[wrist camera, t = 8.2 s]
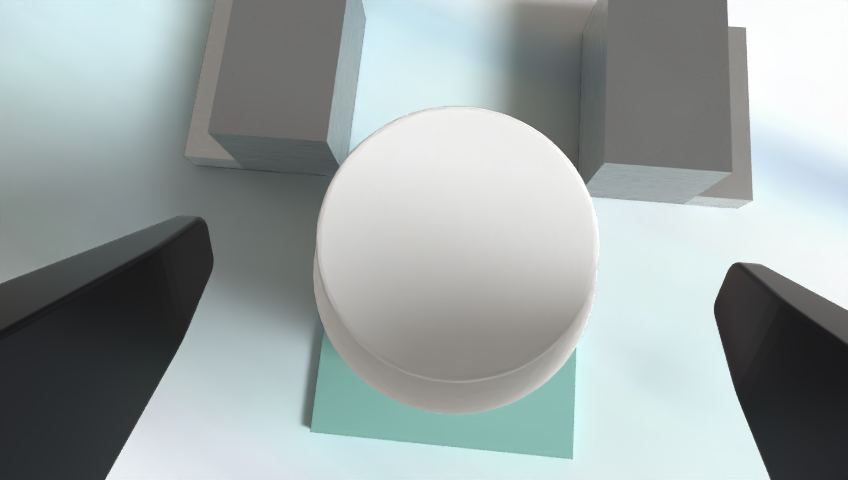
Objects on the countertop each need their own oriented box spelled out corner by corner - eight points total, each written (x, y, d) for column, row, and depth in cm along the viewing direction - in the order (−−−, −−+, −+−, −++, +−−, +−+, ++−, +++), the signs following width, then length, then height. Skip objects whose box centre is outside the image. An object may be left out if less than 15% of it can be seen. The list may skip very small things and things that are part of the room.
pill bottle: (569, 289, 19) (729, 202, 9) (467, 431, 18) (506, 533, 8) (431, 190, 20) (423, 1, 10) (328, 321, 19) (191, 274, 9)
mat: (569, 456, 19) (572, 459, 18) (313, 430, 19) (310, 431, 19) (578, 206, 21) (580, 203, 20) (344, 188, 21) (342, 185, 21)
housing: (737, 208, 20) (797, 177, 17) (195, 165, 21) (148, 127, 18) (732, 42, 22) (786, -17, 18) (225, 9, 23) (187, -52, 19)
